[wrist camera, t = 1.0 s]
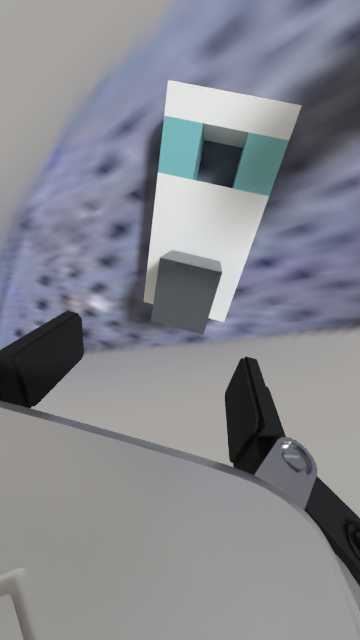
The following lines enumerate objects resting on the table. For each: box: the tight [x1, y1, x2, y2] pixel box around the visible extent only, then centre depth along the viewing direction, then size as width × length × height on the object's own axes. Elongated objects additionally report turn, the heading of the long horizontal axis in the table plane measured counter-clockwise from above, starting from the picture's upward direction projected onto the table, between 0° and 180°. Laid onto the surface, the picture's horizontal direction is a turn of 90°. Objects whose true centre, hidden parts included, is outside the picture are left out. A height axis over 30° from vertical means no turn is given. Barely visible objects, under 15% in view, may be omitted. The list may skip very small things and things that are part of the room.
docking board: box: [143, 80, 302, 322], centre depth 23 cm, size 22×12×4 cm, turn 169°
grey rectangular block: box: [151, 250, 222, 334], centre depth 24 cm, size 6×7×10 cm
